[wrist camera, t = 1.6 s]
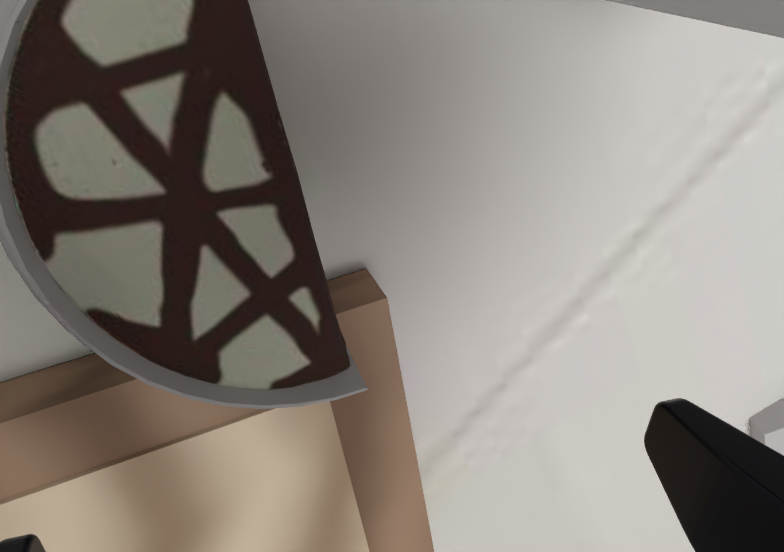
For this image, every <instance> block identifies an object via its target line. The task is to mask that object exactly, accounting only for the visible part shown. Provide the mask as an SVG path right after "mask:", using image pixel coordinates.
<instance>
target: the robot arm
mask: <svg viewBox="0 0 784 552" xmlns="http://www.w3.org/2000/svg"><path fill="white" fill-rule="evenodd" d="M644 443H645V448H646V451H647V454H648V456H649V458H650V460H651V462H652V464H653V466H654V469H655V471H656V473H657V475H658V477H659V479H660V481H661V483H662V485H663V488H664V490H665V492H666V494H667V496H668V498H669V500H670V502H671V505H672V507H673V509H674V511H675V513H676V515H677V517H678V519H679V521H680V524H681V526H682V528H683V530H684V532H685V534H686V535H687V537H688V539H689V541H690V543H691V545H692V546H693V548H694V550H695V552H784V455H782V454H780V453H779V452H777V451H775V450H773V449H772V448H770V447H768V446H766V445H765V444H763V443H761V442H759V441H758V440H756V439H754V438H752V437H751V436H749V435H747V434H745V433H744V432H742V431H740V430H738V429H737V428H735V427H733V426H731V425H730V424H728V423H726V422H725V421H723V420H721V419H719V418H718V417H716V416H714V415H712V414H711V413H709V412H707V411H705V410H704V409H702V408H700V407H698V406H697V405H695V404H693V403H691V402H690V401H688V400H685V399H681V398H677V399H672V400H667V401H662V402H659V403H658V404H657V405H656V406H655V408H654V410H653V413H652V416H651V419H650V422H649V424H648V427H647V430H646V433H645V437H644ZM0 552H46V551H45V549H44V547H43V545H42V543H41V541H40V539H39V538H38V537H37V536H36V535H34V534H27V535H23V536H18V537H13V538H8V539H5V540H2V541H1V542H0Z"/></svg>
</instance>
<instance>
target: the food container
mask: <svg viewBox="0 0 784 552" xmlns="http://www.w3.org/2000/svg"><path fill="white" fill-rule="evenodd" d="M0 240H1V242H2V245H3V247H4V249H5V251H6V253H7V256H8V258H9V260H10V261H11V262H12V264H13V265H14V267H15V268H16V270H17V271H18V273H19V274H20V276H21V277H22V279H23V280H24V281H25V283H26V284H27V286H28V287H29V289H30V290H31V292H32V293H33V295H34V296H35V298H36V299H37V300H38V301H39V302H40V303H41V304H42V305H43V306H44V307H45V308H46V309H47V310H48V311H49V312H50V313H51V314H52V315H53V316H54V317H55V318H56V319H57V320H58V322H59V323H60V324H61V325H62V326H63V327H64V328H65V329H66V330H67V331H69V332H70V333H71V334H73V335H74V336H75V337H76V338H77V339H78V340H79V341H80V342H82V343H83V344H84V345H86V346H87V347H88V348H90V349H91V350H92V351H94V352H95V353H96V354H98V355H99V356H100V357H102V358H103V359H104V360H105V361H107V362H108V363H109V364H111V365H112V366H114V367H116V368H118V369H120V370H122V371H124V372H125V373H127V374H129V375H131V376H133V377H135V378H137V379H138V380H140V381H142V382H144V383H146V384H148V385H150V386H153V387H156V388H159V389H161V390H164V391H167V392H170V393H172V394H175V395H178V396H181V397H184V398H187V399H191V400H196V401H201V402H206V403H211V404H215V405H220V406H226V407H240V408H255V409H272V408H288V407H301V406H307V405H312V404H317V403H323V402H328V401H333V400H337V399H341V398H344V397H347V396H350V395H353V394H356V393H360V392H363V391H366V390H368V389H367V386H366V384H365V382H364V380H363V378H362V376H361V374H360V372H359V370H358V368H357V366H356V364H355V362H354V360H353V358H352V356H351V354H350V352H349V350H348V348H347V346H346V342H345V339H344V337H343V335H342V333H341V331H340V327H339V324H338V321H337V318H336V314H335V311H334V307H333V303H332V300H331V296H330V292H329V288H328V285H327V281H326V277H325V274H324V270H323V267H322V263H321V260H320V256H319V253H318V249H317V246H316V242H315V239H314V235H313V231H312V227H311V223H310V219H309V216H308V212H307V208H306V204H305V200H304V197H303V193H302V189H301V185H300V181H299V178H298V174H297V170H296V167H295V163H294V160H293V157H292V153H291V150H290V147H289V143H288V140H287V137H286V133H285V130H284V127H283V123H282V120H281V117H280V113H279V110H278V107H277V103H276V99H275V96H274V92H273V89H272V85H271V81H270V78H269V74H268V71H267V67H266V63H265V60H264V56H263V53H262V49H261V45H260V42H259V38H258V35H257V31H256V28H255V24H254V21H253V17H252V14H251V10H250V6H249V3H248V0H0Z"/></svg>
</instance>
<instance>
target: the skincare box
mask: <svg viewBox="0 0 784 552" xmlns="http://www.w3.org/2000/svg"><path fill="white" fill-rule="evenodd" d="M607 1H612V2H617V3H621V4H626V5H631V6H635V7H640V8H645V9H650V10H654V11H659V12H664V13H668V14H673V15H678V16H683V17H687V18H692V19H697V20H701V21H706V22H711V23H715V24H720V25H724V26H729V27H734V28H739V29H744V30H749V31H754V32H759V33H763V34H768V35H772V36H777V37H781V38H784V0H607Z"/></svg>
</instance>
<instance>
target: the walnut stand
mask: <svg viewBox="0 0 784 552" xmlns="http://www.w3.org/2000/svg"><path fill="white" fill-rule="evenodd" d="M327 285H328V288H329V292H330V296H331V300H332V303H333V307H334V311H335V314H336V318H337V321H338V324H339V327H340V331H341V333H342V335H343V337H344V339H345V342H346V346H347V348H348V350H349V352H350V354H351V356H352V358H353V360H354V362H355V364H356V366H357V368H358V370H359V372H360V374H361V376H362V378H363V380H364V382H365V384H366V386H367V389H368V390H366V391H363V392H360V393H356V394H353V395H350V396H347V397H344V398H341V399H337V400H333V401H328V402H323V403H317V404H312V405H307V406H301V407H288V408H272V409H255V408H240V407H226V406H220V405H215V404H211V403H206V402H201V401H196V400H191V399H187V398H184V397H181V396H178V395H175V394H172V393H170V392H167V391H164V390H161V389H159V388H156V387H153V386H150V385H148V384H146V383H144V382H142V381H140V380H138V379H137V378H135V377H133V376H131V375H129V374H127V373H125V372H124V371H122V370H120V369H118V368H116V367H114V366H112V365H111V364H109V363H108V362H107V361H105V360H104V359H103V358H102V357H100V356H99V355H98V354H96V353H94V354H91V355H88V356H85V357H81V358H78V359H75V360H72V361H69V362H65V363H62V364H59V365H56V366H53V367H49V368H46V369H43V370H40V371H37V372H33V373H30V374H27V375H24V376H21V377H17V378H14V379H11V380H8V381H5V382H1V383H0V542H1V541H2V540H5V539H8V538H13V537H18V536H23V535H27V534H34V535H36V536H37V537H38V538H39V539H40V541H41V543H42V545H43V547H44V549H45V551H46V552H434V549H433V543H432V538H431V533H430V527H429V522H428V516H427V511H426V506H425V500H424V495H423V489H422V484H421V479H420V473H419V468H418V462H417V457H416V452H415V446H414V441H413V436H412V430H411V425H410V419H409V414H408V409H407V403H406V398H405V392H404V387H403V382H402V376H401V371H400V365H399V360H398V355H397V349H396V344H395V338H394V333H393V328H392V322H391V317H390V312H389V306H388V301H387V297H386V296H385V294H384V293H383V291H382V290H381V289H380V287H379V286H378V284H377V283H376V282H375V280H374V279H373V277H372V276H371V274H370V273H369V272H368V270H367V269H363V270H360V271H357V272H354V273H351V274H347V275H344V276H341V277H338V278H335V279H331V280H328V281H327Z"/></svg>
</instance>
